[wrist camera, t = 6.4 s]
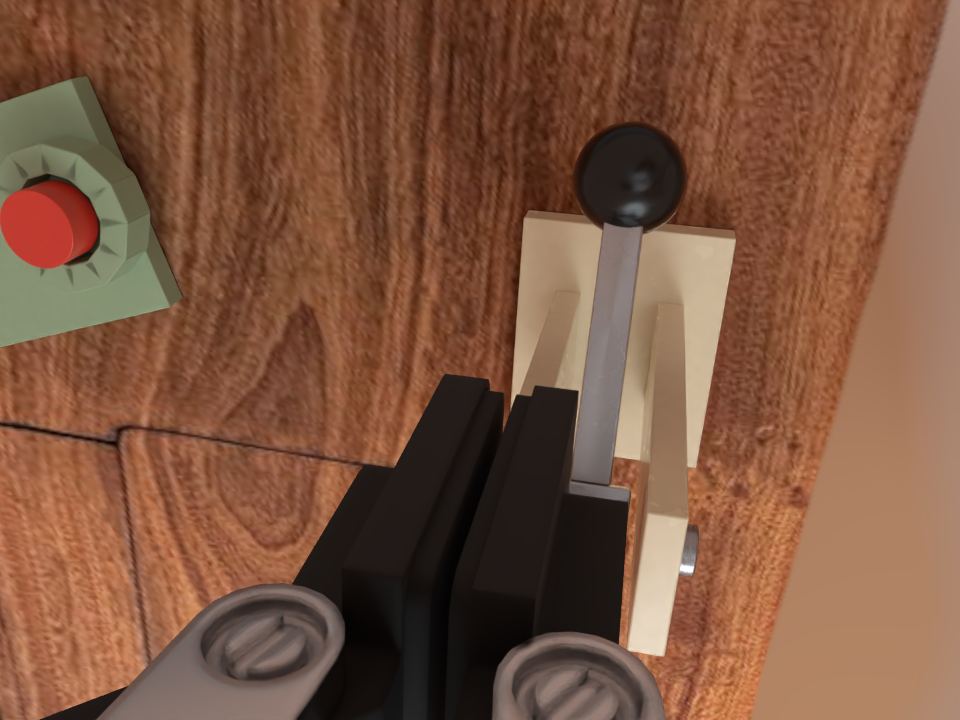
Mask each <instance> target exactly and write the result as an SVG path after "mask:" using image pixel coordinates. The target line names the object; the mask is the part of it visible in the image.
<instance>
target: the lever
mask: <svg viewBox="0 0 960 720" xmlns="http://www.w3.org/2000/svg"><path fill="white" fill-rule="evenodd" d="M687 178H688V174H687V166H686V162H685V159H684V156H683V154H682V152H681V150H680V148H679V146H678V145H677V143H676V142H675V141H674V140H673V139H672V138H671V137H670V136H669V135H668V134H667V133H665V132H664V131H663V130H661V129H659V128H657V127H655V126H653V125H651V124H647V123H643V122H633V121H629V122H621V123H617V124H614V125H611V126H609V127H607V128H605V129H603V130H601V131H600V132H598V133H597V134H595V135H594V136H593V137H592V138H591V139H590V140H589V141H588V142H587V143H586V145H585V146H584V148H583V149H582V151H581V152H580V154H579V156H578V158H577V161H576V164H575V168H574V174H573V189H574V194H575V197H576V200H577V203H578V205H579V207H580V209H581V211H582V212H583V214H584V215H585V217H586V218H587V219H588V220H589V221H590V222H591V223H593V224H594V225H595V226H596V227H598V228H599V229H601V230H603V232H602V239H601V247H600V254H599V262H598V269H597V277H596V285H595V292H594V300H593V307H592V315H591V322H590V330H589V337H588V345H587V352H586V360H585V367H584V375H583V383H582V390H581V398H580V405H579V413H578V420H577V428H576V435H575V443H574V450H573V458H572V466H571V475H570V485H569V493H570V494H577V495H584V496H591V497H598V498H605V499H612V500H619V501H626V502H628V513H629V505H630V497H631V491H630V489H629V488H628V487H624V486H617V485H610V484H611V476H612V468H613V461H614V453H615V445H616V437H617V429H618V422H619V414H620V406H621V398H622V391H623V383H624V375H625V367H626V359H627V352H628V344H629V336H630V328H631V321H632V313H633V305H634V297H635V289H636V282H637V274H638V266H639V258H640V251H641V243H642V235H644V234H647V233H650V232H652V231H654V230H656V229H658V228H660V227H661V226H663V225H664V224H665V223H667V222H668V221H669V220H670V219H671V218H672V217H673V216H674V214H675V213H676V212H677V210H678V209H679V207H680V205H681V203H682V201H683V199H684V196H685V193H686V188H687ZM627 521H628V518H627Z"/></svg>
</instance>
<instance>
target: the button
mask: <svg viewBox="0 0 960 720" xmlns="http://www.w3.org/2000/svg"><path fill="white" fill-rule="evenodd" d="M0 226H1V230H2V233H3V236H4V238H5V240H6V242H7V244H8V245H9V247H10V248H11V249H12V250H13V252H14V253H15V254H16V255H17V256H18V257H20V258H21V259H22V260H24V261H25V262H27V263H28V264H30V265H33V266H35V267H39V268H55V267H58V266H60V265H62V264H64V263H66V262H68V261H70V260H72V259H74V258H76V257H78V256H80V255H82V254H84V253H86V252H87V251H89V250H90V249H91V248H92V247H93V245H94V244H95V242H96V239H97V236H98V219H97V215H96V213H95V210H94V208H93V206H92V204H91V203H90V201H89V200H88V199H87V197H86V196H85V195H84V194H83V193H82V192H81V191H80V190H78V189H77V188H76V187H74V186H72V185H70V184H68V183H66V182H63V181H58V180H49V181H44V182H42V183H39V184H36V185H33V186H31V187H28V188H25V189H22V190H20V191H17V192H14V193H13V194H11V195H10V196H9V197H8V198H7V199H6V200H5V201H4V203H3V205H2V208H1V212H0Z"/></svg>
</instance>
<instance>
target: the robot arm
mask: <svg viewBox="0 0 960 720" xmlns="http://www.w3.org/2000/svg"><path fill="white" fill-rule="evenodd" d="M578 397H579V391H578V390H570V389H562V388H554V387H546V386H538V385H535V387H534V389H533V392H532V396H526V395H518V394H517V395H516V397H515V400H514V402H513V405H512V408H511V411H510V414H509V417H508V420H507V423H506V426H505V429H504V432H503V416H504V393H502V392H494V391H490V383H489V379H482V378H474V377H466V376H458V375H450V374H445V375H444V376H443V378H442V379H441V381H440V383H439V385H438V387H437V389H436V391H435V393H434V394H433V396H432V398H431V400H430V402H429V404H428V406H427V408H426V409H425V411H424V413H423V415H422V417H421V419H420V421H419V423H418V424H417V426H416V428H415V430H414V432H413V434H412V436H411V438H410V440H409V441H408V443H407V445H406V447H405V449H404V451H403V453H402V455H401V456H400V458H399V460H398V462H397V464H396V466H395V468H389V467H382V466H375V465H365V466H363V468H362V469H361V470H360V471H359V473H358V474H357V476H356V478H355V479H354V481H353V483H352V484H351V486H350V488H349V489H348V491H347V493H346V495H345V496H344V498H343V500H342V501H341V503H340V505H339V506H338V508H337V510H336V511H335V513H334V515H333V516H332V518H331V520H330V521H329V523H328V525H327V526H326V528H325V530H324V531H323V533H322V535H321V536H320V538H319V540H318V541H317V543H316V545H315V546H314V548H313V550H312V551H311V553H310V555H309V556H308V558H307V560H306V562H305V563H304V565H303V567H302V568H301V570H300V572H299V573H298V575H297V577H296V578H295V580H294V582H293V583H292V585H290V584H284V583H280V584H259V585H255V586H251V587H247V588H243V589H239V590H236V591H234V592H231V593H229V594H227V595H225V596H223V597H221V598H219V599H217V600H215V601H213V602H212V603H211V604H210V605H208V606H207V607H206V608H205V609H203V610H202V611H201V612H200V613H198V614H197V615H196V616H195V617H194V618H193V619H192V620H191V622H190V623H189V624H188V625H187V626H186V627H185V628H184V629H183V630H182V631H181V632H180V633H179V634H178V635H177V636H176V637H175V638H174V639H173V640H172V641H171V642H170V643H169V644H168V645H167V646H166V648H165V649H164V650H163V651H162V652H161V653H160V654H159V655H158V656H157V657H156V658H155V659H154V660H153V661H152V662H151V663H150V664H149V665H148V666H147V667H146V668H145V669H144V670H143V671H142V673H141V674H140V675H139V676H138V677H137V678H136V679H135V680H134V681H133V682H132V683H131V684H130V685H129V686H127V687H124V688H121V689H119V690H116V691H113V692H111V693H108V694H106V695H103V696H100V697H98V698H95V699H92V700H90V701H87V702H85V703H82V704H79V705H77V706H74V707H71V708H69V709H66V710H64V711H61V712H58V713H56V714H53V715H50V716H48V717H45V718H43V719H40V720H666V717H665V712H664V707H663V702H662V696H661V693H660V691H659V688H658V686H657V683H656V681H655V678H654V676H653V674H652V673H651V672H650V671H649V670H648V669H647V667H646V666H645V665H644V664H643V663H642V661H641V660H640V659H639V658H638V657H636V656H635V655H633V654H632V653H631V652H629V651H628V650H626V649H625V648H623V647H622V646H621V645H619V632H620V618H621V604H622V590H623V575H624V561H625V547H626V533H627V518H628V502H626V501H619V500H612V499H605V498H598V497H591V496H584V495H577V494H570V493H569V485H570V475H571V466H572V456H573V446H574V437H575V427H576V418H577V408H578ZM502 432H503V434H502Z"/></svg>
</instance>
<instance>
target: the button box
mask: <svg viewBox="0 0 960 720" xmlns="http://www.w3.org/2000/svg"><path fill="white" fill-rule="evenodd" d="M49 180H58V181H63V182H66V183H68V184H70V185H72V186H74V187H76V188H77V189H78V190H80V191H81V192H82V193H83V194H84V195H85V196H86V197H87V199H88V200H89V201H90V203H91V204H92V206H93V208H94V210H95V213H96V215H97V219H98V236H97V239H96V242H95V244H94V245H93V247H92V248H91V249H90V250H89V251H87V252H86V253H84V254H82V255H80V256H78V257H76V258H74V259H72V260H70V261H68V262H66V263H64V264H62V265H60V266H58V267H55V268H39V267H35V266H33V265H30V264H28V263H27V262H25V261H24V260H22V259H21V258H20V257H18V256H17V255H16V254H15V253H14V252H13V250H12V249H11V248H10V247H9V245H8V244H7V242H6V240H5V238H4V236H3V233H2V230H1V226H0V347H3V346H8V345H12V344H16V343H20V342H25V341H29V340H33V339H37V338H42V337H46V336H50V335H54V334H59V333H63V332H67V331H71V330H76V329H80V328H84V327H88V326H93V325H97V324H101V323H106V322H110V321H114V320H118V319H123V318H127V317H131V316H135V315H140V314H144V313H148V312H152V311H157V310H161V309H165V308H169V307H171V306H172V305H174V304H175V303H177V302H178V301H180V300H181V299H182V295H181V293H180V290H179V288H178V286H177V283H176V281H175V279H174V276H173V274H172V272H171V269H170V267H169V265H168V262H167V260H166V258H165V255H164V253H163V251H162V248H161V246H160V244H159V241H158V239H157V237H156V234H155V232H154V230H153V227H152V225H151V223H150V209H149V206H148V204H147V202H146V199H145V197H144V195H143V192H142V190H141V188H140V185H139V183H138V181H137V178H136V176H135V175H134V173H133V172H132V171H131V170H130V169H129V168H128V167H126V165H125V162H124V160H123V158H122V155H121V153H120V151H119V148H118V146H117V144H116V141H115V139H114V137H113V134H112V132H111V130H110V127H109V125H108V123H107V120H106V118H105V116H104V113H103V111H102V109H101V106H100V104H99V102H98V99H97V97H96V95H95V92H94V90H93V88H92V85H91V83H90V81H89V79H88V77H87V76H83V77H78V78H73V79H69V80H66V81H63V82H60V83H57V84H54V85H51V86H48V87H45V88H42V89H39V90H36V91H33V92H30V93H27V94H24V95H21V96H18V97H15V98H12V99H9V100H6V101H4V102H1V103H0V212H1V208H2V205H3V203H4V201H5V200H6V199H7V198H8V197H9V196H10V195H11V194H13V193H14V192H17V191H20V190H22V189H25V188H28V187H31V186H33V185H36V184H39V183H42V182H44V181H49Z"/></svg>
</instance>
